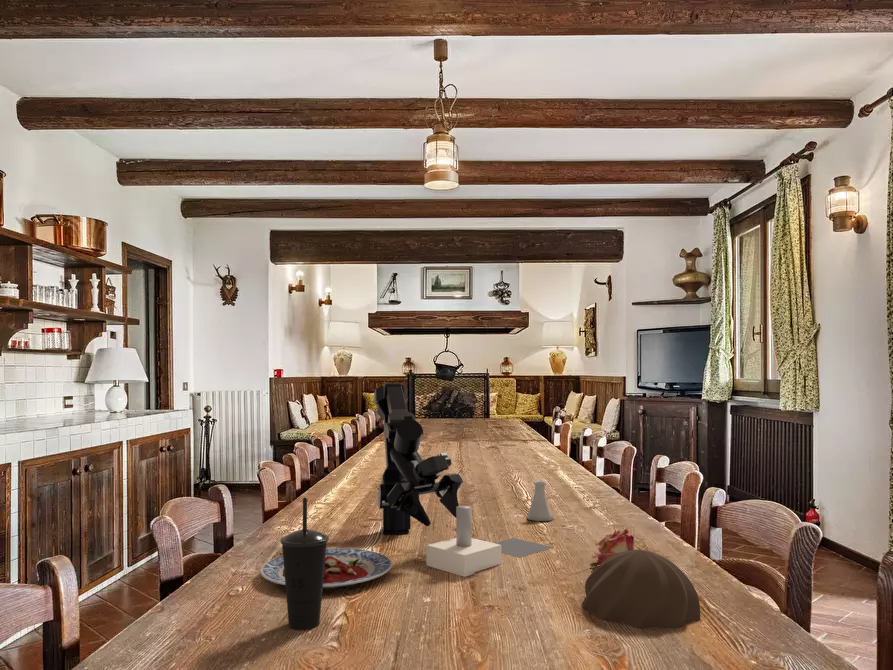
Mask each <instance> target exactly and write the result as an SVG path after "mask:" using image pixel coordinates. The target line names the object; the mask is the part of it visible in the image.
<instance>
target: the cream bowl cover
mask: <svg viewBox="0 0 893 670" xmlns="http://www.w3.org/2000/svg"><path fill="white" fill-rule="evenodd" d="M472 509H473V508H472V506H470V505H459V506H457V507H456V518H455V521H456V523H455V526H456V528H455V532H456V533H455V537H454V538H450V539H445V540H441V541H437V542H433V543H430V544H426V566H427V567H430V568H433V569H437V570H441V571H444V572H447V573H450V574H454V575H457V576H459V577H460V576H461V577H463V578H466V577H469V576H472V575H476V574H477V572H479V571H482V570H485V569H489V568H492V567H495V566H499V565H502V553H501V545H499V544H495V543H496V542H491V541H486V540H482V539H477V538H473V535H472V533H473V532H472V530H473V528H472V527H473V526H472V523H473V522H472V519H473V518H472V517H473V516H472V514H473V513H472V511H473V510H472Z"/></svg>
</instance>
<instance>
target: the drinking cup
mask: <svg viewBox="0 0 893 670" xmlns="http://www.w3.org/2000/svg"><path fill="white" fill-rule="evenodd" d="M329 538H330V537H329V536H328V534H325V533H322V532H320V531H318V530H315V529H308V497H302V529H298V530H295V531H291V532H290V533H288V534H286V535H284V536H282V537H281V538H280V540H279V542H280V544H281V545H282V547H281V548H282V556H283V560H284V573H285V585H284V586H285V595H286V608H287V617H288V618H287V619H288V627H289V628H290V629H292V630H297V631H298V630H299V631H303V630H311V629H313V628H317V627H318V626H319V625H320V622H321V621H320V620H321V611H322V598H323V591H324V589H323V579H324V568H325V557H326V549H327V545H328V544H327V543H328V542H329Z"/></svg>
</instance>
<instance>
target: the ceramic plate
mask: <svg viewBox="0 0 893 670" xmlns="http://www.w3.org/2000/svg"><path fill="white" fill-rule="evenodd" d="M392 566H393V562H392V560H391V559H390V557H388V556H386V555H385V554H382V553H379V552H376V551H371V550H366V549H360V548H344V547H343V548H342V547H340V548H339V547H335V548H333V547H331V548H330V547H329V548H326V557H325V568H324V579H323V590H324V589H337V588H344V587H345V588H346V587H350V586H353V585H356V584H361V583H364V582H365V583H366V582H368V581H371V580H375V579H377V578H380V577H382V576H384V575H385V574H386V573H388V572H389V571H390V570H391V569H392ZM259 571H260V575H261V577H263V578H264V579H266V580H267V581H268V582H271V583H274V584H277V585H283V586H286V585H285V573H284V560H283V555H280V556H277V557H274V558H273V559H270V560H268V561H267V562H265V563H264V564H263V565H262V566H261V567H260V570H259Z"/></svg>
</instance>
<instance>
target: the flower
mask: <svg viewBox="0 0 893 670" xmlns="http://www.w3.org/2000/svg"><path fill="white" fill-rule="evenodd" d="M634 538H635V537H634V536H633V534H632V533H631V532H630V531H629V530H628V529H627V528H625V529H623V530H622V531H620V530H619V529H618V530H617V528H616V527H615V529H614V531H613V533H612V534H611V533H610V534H607V535H605V536H604V537H603V538H601V539H600V540H599V541H597V543H595V545H596V546H598V548H597V550H598V551H597V552H593V553H592V554H591V558H593V559H596V558H597V560H596V563H597V564H598V566H600V565H601V563H602V562H603V561H604V560H606V559H607V558H608V557H610V556H612V555H614V554H617V553H620V552H625V551H628V550H635V549H634V544H635V542H634V541H635V540H634Z"/></svg>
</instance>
